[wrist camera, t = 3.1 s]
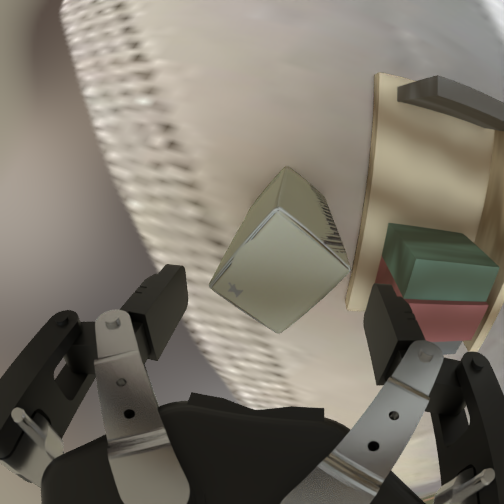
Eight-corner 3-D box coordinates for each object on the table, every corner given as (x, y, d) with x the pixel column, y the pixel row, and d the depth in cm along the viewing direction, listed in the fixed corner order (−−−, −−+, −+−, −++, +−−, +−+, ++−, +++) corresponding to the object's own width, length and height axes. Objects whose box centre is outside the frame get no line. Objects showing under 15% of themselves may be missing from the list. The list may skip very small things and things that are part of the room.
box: (287, 238, 25) (276, 342, 13) (248, 207, 24) (201, 291, 13) (328, 194, 23) (356, 272, 11) (287, 160, 22) (275, 204, 10)
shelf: (374, 75, 17) (413, 53, 10) (495, 113, 16) (554, 121, 8) (345, 301, 27) (356, 364, 19) (450, 306, 25) (481, 358, 18)
